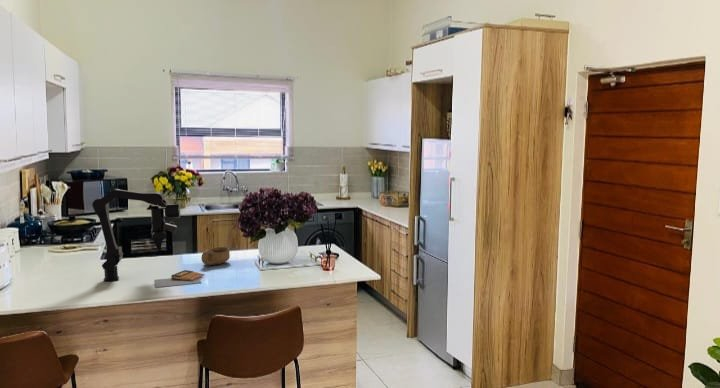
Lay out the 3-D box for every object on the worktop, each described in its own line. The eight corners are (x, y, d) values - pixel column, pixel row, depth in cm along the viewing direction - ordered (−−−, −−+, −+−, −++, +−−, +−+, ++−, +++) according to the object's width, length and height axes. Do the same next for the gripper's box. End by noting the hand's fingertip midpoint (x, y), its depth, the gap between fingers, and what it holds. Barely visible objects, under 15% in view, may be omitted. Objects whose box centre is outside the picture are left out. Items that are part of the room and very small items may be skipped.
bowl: (223, 266, 283) (217, 247, 282) (199, 272, 286) (193, 254, 285) (236, 258, 300) (231, 240, 300) (213, 264, 303) (208, 247, 302)
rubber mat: (154, 280, 261) (154, 279, 261) (198, 276, 269) (198, 275, 269) (155, 287, 248) (155, 287, 248) (201, 283, 256) (201, 282, 256)
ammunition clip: (171, 279, 261) (192, 282, 258) (171, 275, 261) (192, 278, 258) (185, 273, 272) (206, 276, 268) (184, 270, 271) (206, 272, 268)
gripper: (176, 220, 259) (178, 252, 261) (174, 215, 277) (175, 245, 278) (151, 221, 255) (153, 254, 257) (150, 216, 272) (152, 247, 274)
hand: (159, 250), depth 267 cm, fingers closed
